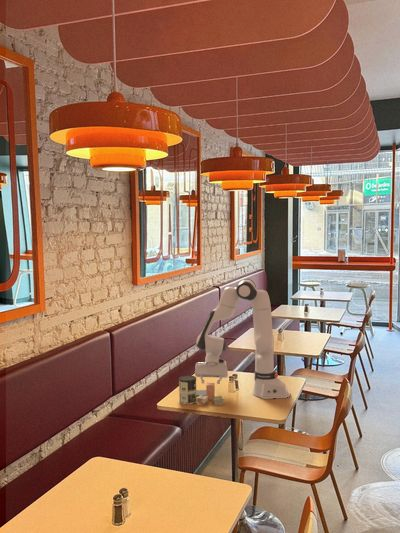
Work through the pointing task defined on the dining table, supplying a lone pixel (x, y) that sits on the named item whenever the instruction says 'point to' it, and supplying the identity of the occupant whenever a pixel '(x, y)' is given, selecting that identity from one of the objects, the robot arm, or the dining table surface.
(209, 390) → the pillar
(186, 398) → the coffee can
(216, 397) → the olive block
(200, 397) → the mottled white pinkish lump
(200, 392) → the pad
